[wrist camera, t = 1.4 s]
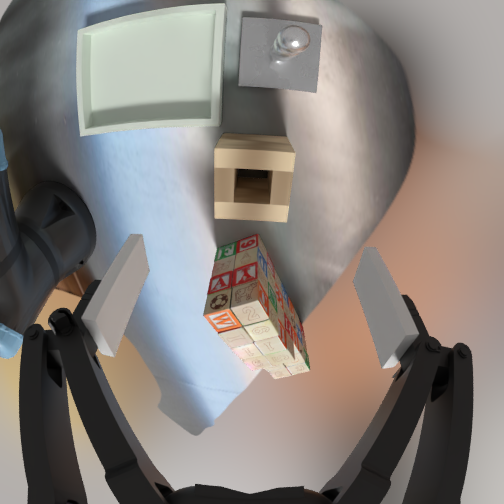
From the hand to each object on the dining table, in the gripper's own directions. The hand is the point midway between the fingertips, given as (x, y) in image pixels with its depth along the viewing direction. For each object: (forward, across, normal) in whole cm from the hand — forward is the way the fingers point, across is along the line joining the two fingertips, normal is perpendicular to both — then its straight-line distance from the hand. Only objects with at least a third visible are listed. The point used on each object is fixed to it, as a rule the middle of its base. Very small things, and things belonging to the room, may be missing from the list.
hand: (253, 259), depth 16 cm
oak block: (+18, 0, 0) cm, 18 cm away
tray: (+18, -12, +12) cm, 24 cm away
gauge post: (+18, +2, +13) cm, 22 cm away
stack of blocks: (+18, +3, -20) cm, 27 cm away
